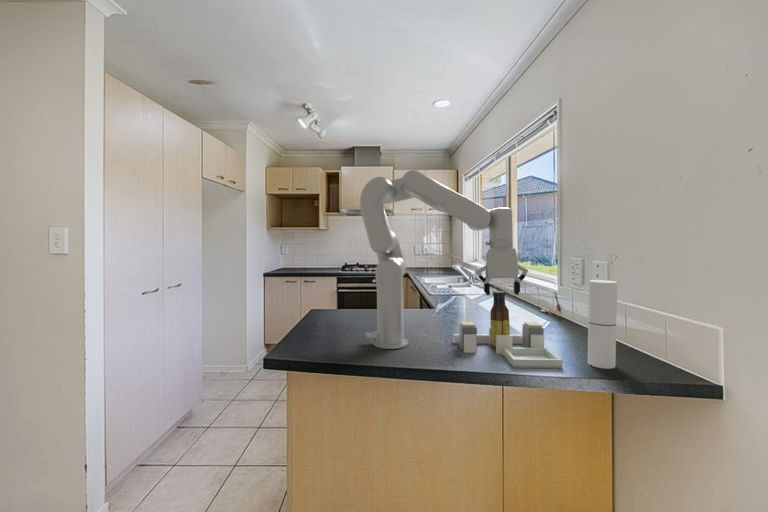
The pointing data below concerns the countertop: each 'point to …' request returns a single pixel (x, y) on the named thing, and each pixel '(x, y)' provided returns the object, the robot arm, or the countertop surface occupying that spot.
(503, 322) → the sauce bottle
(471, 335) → the clip rack
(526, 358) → the tray
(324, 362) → the countertop surface
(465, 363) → the countertop surface
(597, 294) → the cylindrical container
